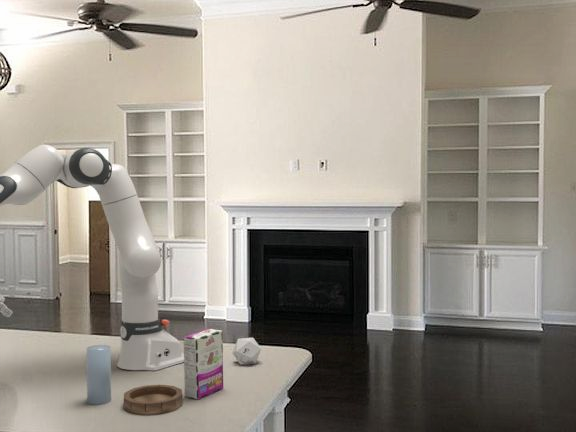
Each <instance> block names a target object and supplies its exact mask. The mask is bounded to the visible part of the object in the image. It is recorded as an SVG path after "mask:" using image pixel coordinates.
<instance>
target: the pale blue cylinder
mask: <svg viewBox="0 0 576 432" xmlns="http://www.w3.org/2000/svg"><path fill="white" fill-rule="evenodd" d="M111 347H112V346H110V345H108V344H96V345H90V346H88V347H86V403H87V404H89V405H91V406H92V405H95V406H96V405H97V406H98V405H104V404H108V403H110V402H111V401H112V364H111V363H112V360H111V359H112V357H111V354H112V353H111V352H112V350H111V349H112V348H111Z"/></svg>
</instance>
